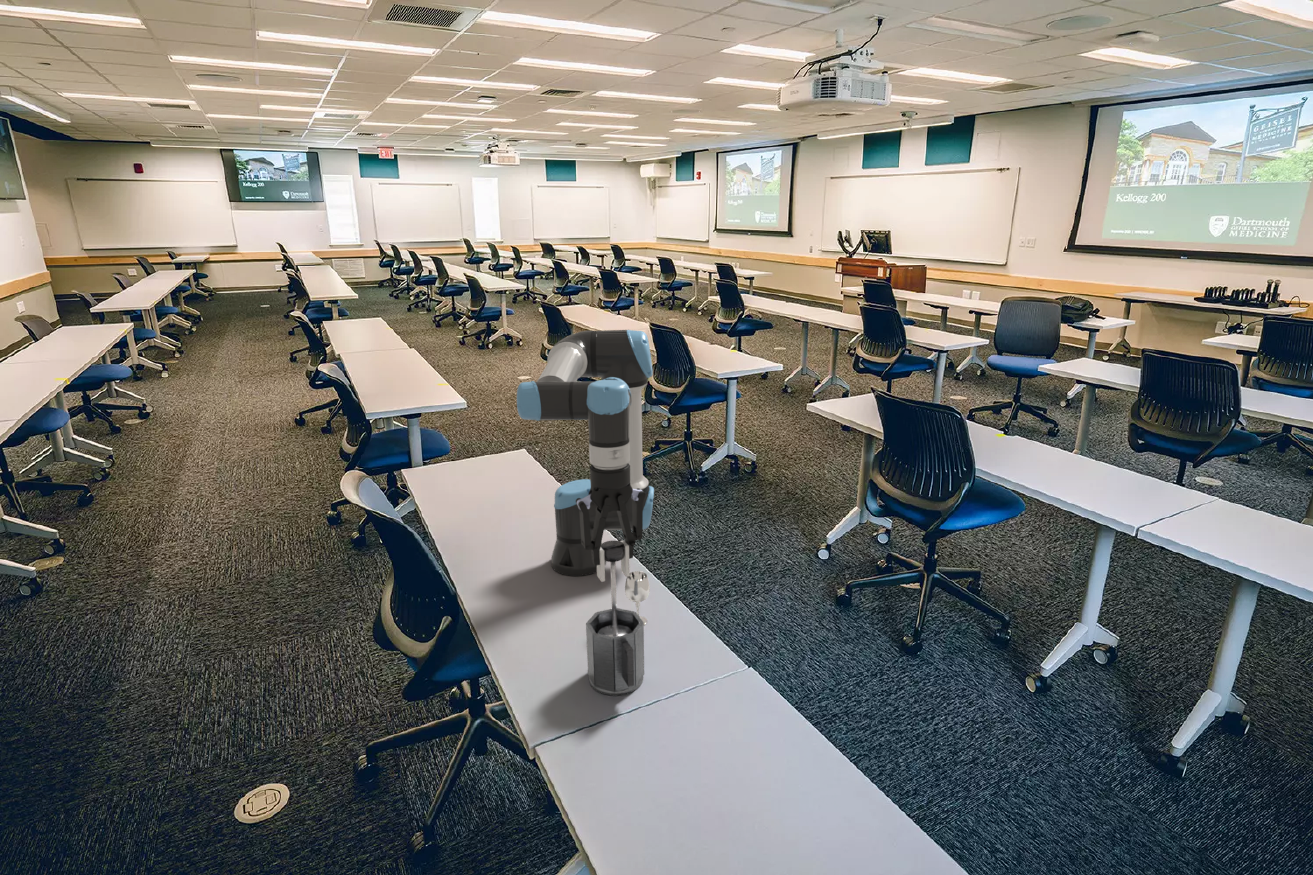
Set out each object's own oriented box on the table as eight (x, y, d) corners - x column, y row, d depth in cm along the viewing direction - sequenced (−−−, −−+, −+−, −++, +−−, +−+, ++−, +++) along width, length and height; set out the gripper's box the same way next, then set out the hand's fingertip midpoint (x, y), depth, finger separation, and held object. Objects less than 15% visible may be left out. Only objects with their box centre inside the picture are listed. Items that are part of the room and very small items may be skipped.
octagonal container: (582, 669, 145) (579, 615, 141) (631, 656, 149) (630, 603, 145) (604, 711, 132) (602, 652, 129) (657, 695, 137) (657, 639, 133)
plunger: (592, 632, 141) (588, 541, 135) (625, 624, 144) (623, 534, 138) (604, 651, 135) (600, 556, 129) (638, 643, 137) (636, 549, 131)
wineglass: (638, 612, 166) (637, 567, 163) (655, 621, 162) (654, 575, 159) (620, 621, 162) (619, 576, 159) (637, 631, 159) (636, 584, 155)
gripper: (570, 476, 122) (576, 593, 129) (660, 463, 128) (661, 575, 135) (559, 464, 128) (565, 576, 135) (645, 451, 135) (646, 559, 142)
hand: (613, 575), depth 135 cm, fingers closed on plunger, 4 cm apart
